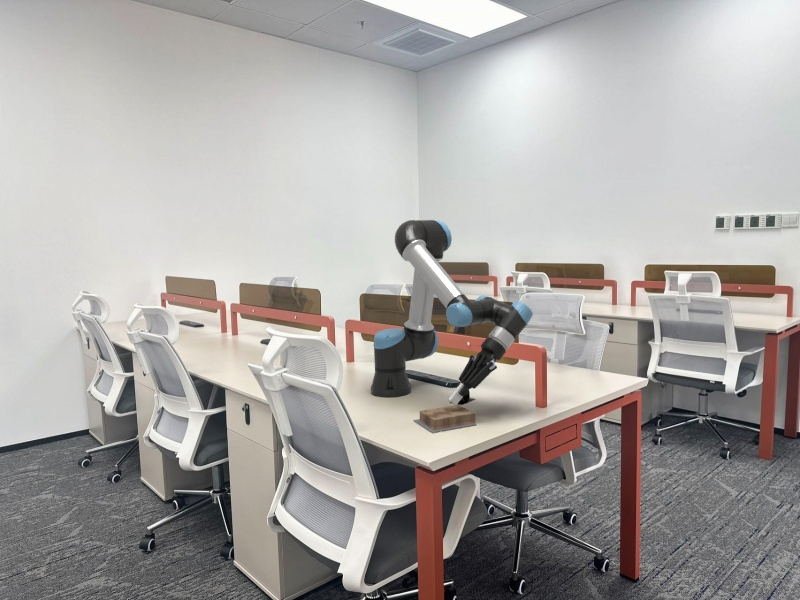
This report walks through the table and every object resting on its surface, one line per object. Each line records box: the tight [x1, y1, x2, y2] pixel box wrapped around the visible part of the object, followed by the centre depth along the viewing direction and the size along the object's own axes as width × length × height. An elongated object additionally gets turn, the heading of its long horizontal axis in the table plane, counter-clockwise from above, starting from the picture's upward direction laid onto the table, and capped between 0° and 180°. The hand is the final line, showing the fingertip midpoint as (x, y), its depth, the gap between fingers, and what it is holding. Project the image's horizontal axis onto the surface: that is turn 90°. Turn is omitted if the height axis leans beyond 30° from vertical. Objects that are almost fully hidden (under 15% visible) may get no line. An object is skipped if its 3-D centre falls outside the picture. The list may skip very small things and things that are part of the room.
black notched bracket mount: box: [448, 389, 477, 406], centre depth 195 cm, size 12×7×5 cm, turn 139°
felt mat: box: [412, 418, 477, 434], centre depth 171 cm, size 13×15×1 cm
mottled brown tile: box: [419, 404, 476, 430], centre depth 172 cm, size 10×3×14 cm
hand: (452, 402), depth 172 cm, fingers closed
